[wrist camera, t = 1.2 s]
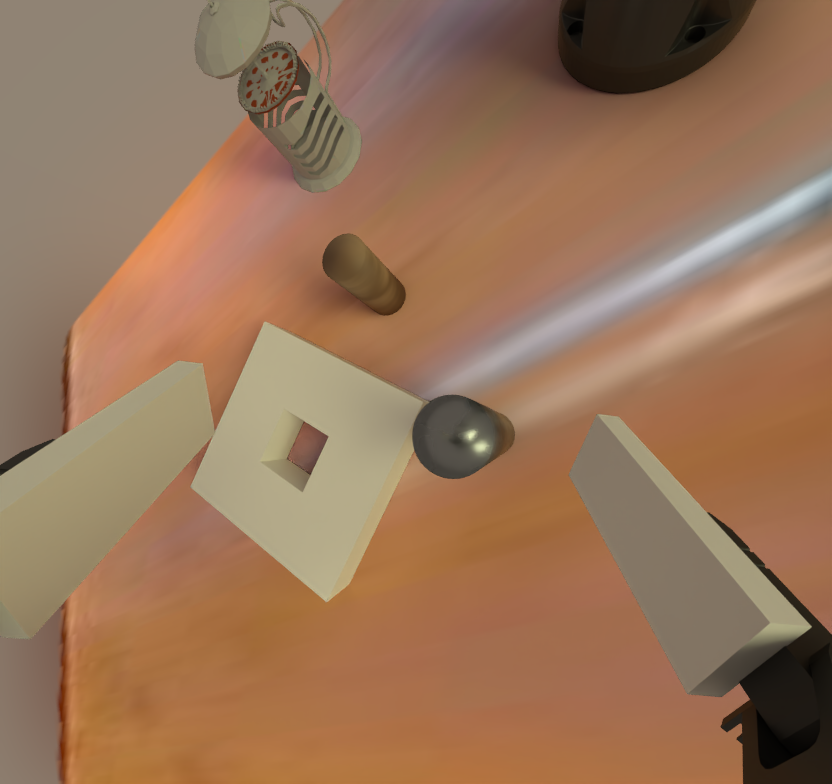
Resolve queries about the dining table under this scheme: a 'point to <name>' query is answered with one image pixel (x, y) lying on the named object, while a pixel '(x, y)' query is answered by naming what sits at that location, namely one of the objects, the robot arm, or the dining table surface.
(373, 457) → the hole plate
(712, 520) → the robot arm
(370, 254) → the walnut pin
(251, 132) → the dining table surface
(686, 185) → the dining table surface
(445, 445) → the metal pin
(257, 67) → the french press
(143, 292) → the dining table surface
